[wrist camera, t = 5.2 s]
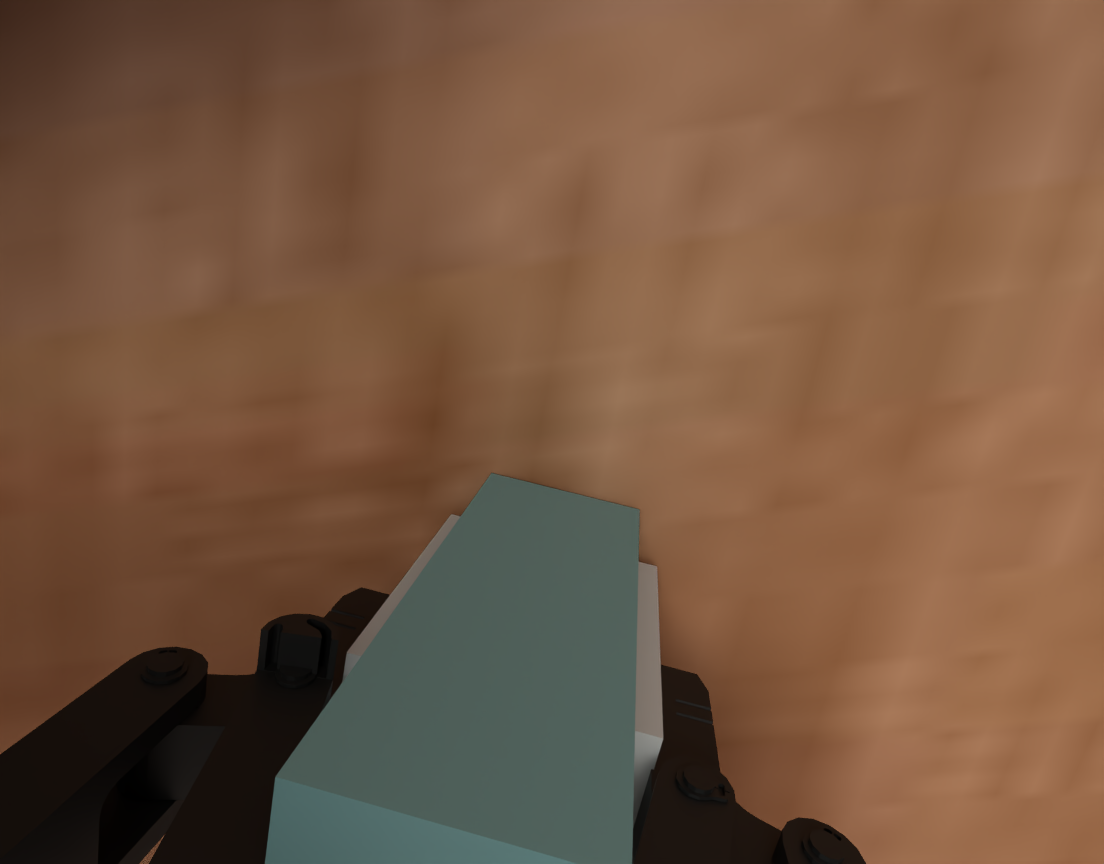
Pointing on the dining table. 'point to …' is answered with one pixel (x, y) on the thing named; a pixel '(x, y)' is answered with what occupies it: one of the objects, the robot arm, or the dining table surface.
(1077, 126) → the dining table surface
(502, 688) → the hammer tool
